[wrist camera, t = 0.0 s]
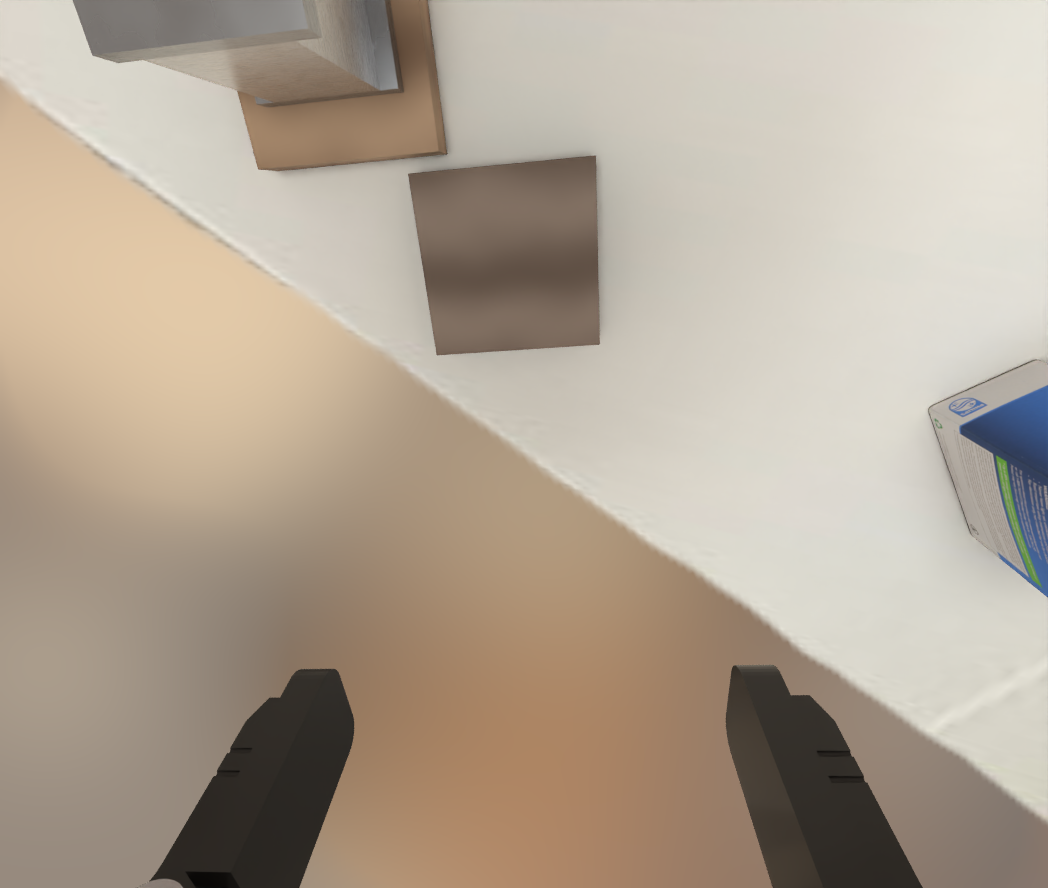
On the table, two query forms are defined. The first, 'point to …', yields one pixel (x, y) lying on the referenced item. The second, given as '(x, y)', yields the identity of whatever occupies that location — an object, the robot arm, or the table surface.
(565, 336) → the stand
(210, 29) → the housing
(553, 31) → the table surface
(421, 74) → the stand
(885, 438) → the table surface
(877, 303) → the table surface
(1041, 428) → the string lights box
